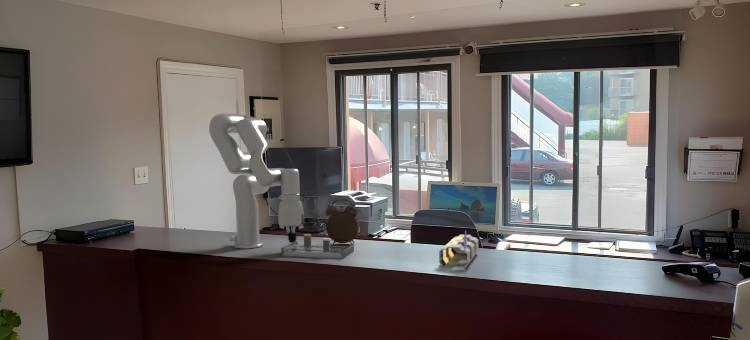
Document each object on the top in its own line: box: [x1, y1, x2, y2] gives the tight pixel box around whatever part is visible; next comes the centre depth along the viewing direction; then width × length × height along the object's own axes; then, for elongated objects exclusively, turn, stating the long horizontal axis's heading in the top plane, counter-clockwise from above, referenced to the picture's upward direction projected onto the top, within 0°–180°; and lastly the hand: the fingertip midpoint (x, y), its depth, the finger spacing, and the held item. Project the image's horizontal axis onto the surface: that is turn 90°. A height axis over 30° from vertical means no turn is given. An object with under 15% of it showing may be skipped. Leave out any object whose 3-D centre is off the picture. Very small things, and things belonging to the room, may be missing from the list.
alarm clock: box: [325, 198, 360, 246], centre depth 241 cm, size 15×7×20 cm, turn 84°
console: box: [280, 241, 355, 260], centre depth 223 cm, size 26×14×3 cm, turn 75°
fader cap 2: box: [322, 237, 331, 251], centre depth 218 cm, size 2×2×5 cm
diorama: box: [438, 230, 479, 269], centre depth 207 cm, size 25×10×13 cm, turn 161°
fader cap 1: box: [303, 233, 312, 246], centre depth 228 cm, size 2×2×5 cm
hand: (292, 242), depth 230 cm, fingers closed
